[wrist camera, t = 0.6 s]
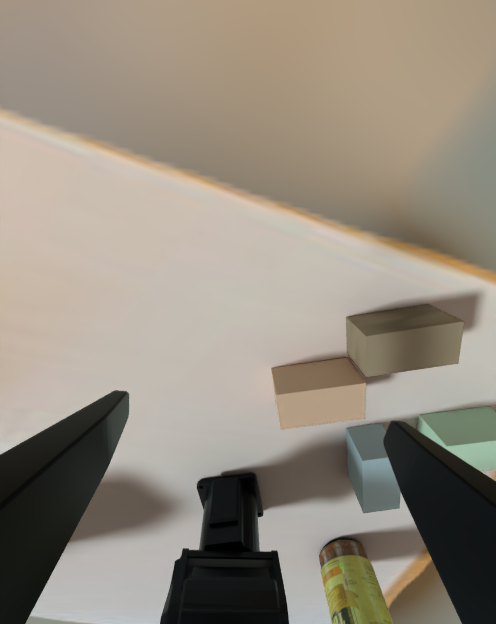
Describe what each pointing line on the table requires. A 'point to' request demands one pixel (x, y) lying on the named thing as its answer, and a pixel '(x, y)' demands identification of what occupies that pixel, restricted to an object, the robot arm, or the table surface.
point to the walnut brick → (403, 339)
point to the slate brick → (371, 469)
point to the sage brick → (464, 434)
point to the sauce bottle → (352, 585)
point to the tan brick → (318, 393)
